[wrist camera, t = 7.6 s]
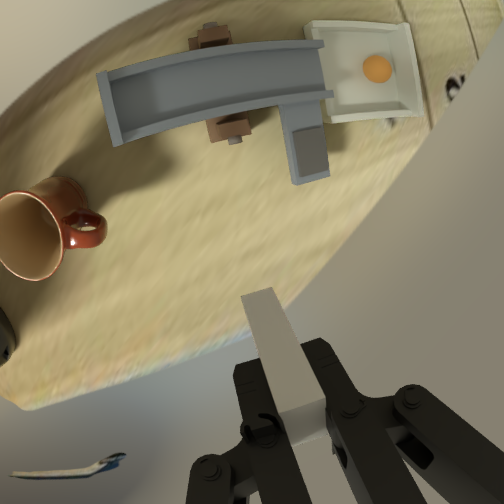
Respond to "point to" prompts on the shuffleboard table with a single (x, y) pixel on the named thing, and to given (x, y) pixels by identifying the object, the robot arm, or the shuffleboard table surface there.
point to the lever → (225, 95)
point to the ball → (377, 69)
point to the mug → (46, 227)
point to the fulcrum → (231, 123)
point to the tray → (353, 78)
